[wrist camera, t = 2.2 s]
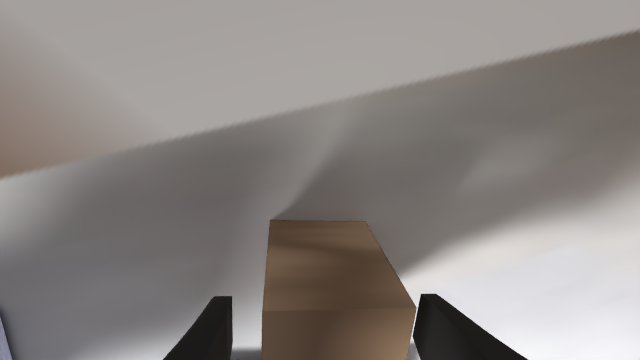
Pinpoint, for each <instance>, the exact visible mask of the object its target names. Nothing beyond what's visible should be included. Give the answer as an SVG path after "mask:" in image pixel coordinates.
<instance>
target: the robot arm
mask: <svg viewBox="0 0 640 360" xmlns="http://www.w3.org/2000/svg"><path fill="white" fill-rule="evenodd" d="M413 339H414V342H415V345H416V348H417V351H418V353H419V356H420V359H421V360H528V359H526V358H525V357H523V356H521V355H520V354H518V353H517V352H515V351H514V350H512V349H511V348H509V347H508V346H506V345H505V344H504V343H502V342H501V341H499V340H498V339H496V338H495V337H494V336H492V335H491V334H489V333H488V332H487V331H485V330H484V329H482V328H481V327H480V326H478V325H477V324H476V323H474V322H473V321H472V320H470V319H469V318H468V317H466V316H465V315H464V314H463V313H461V312H460V311H459V310H457V309H456V308H455V307H453V306H452V305H451V304H449V303H448V302H447V301H445V300H444V299H443V298H441V297H440V296H438V295H437V294H421V297H420V302H419V307H418V312H417V317H416V322H415V327H414V332H413ZM232 342H233V335H232V296H215V297H213V298H212V299H211V301H210V302H209V304H208V305H207V306H206V308H205V309H204V311H203V312H202V313H201V315H200V316H199V317H198V319H197V320H196V321H195V322H194V324H193V325H192V326H191V328H190V329H189V330H188V331H187V332H186V334H185V335H184V336H183V337H182V339H181V340H180V341H179V342H178V343H177V344H176V346H175V347H174V348H173V349H172V350H171V351H170V352H169V353H168V354H167V356H166V357H165V358H164V359H163V360H230V356H231V349H232ZM0 360H12V357H11V354H10V350H9V347H8V343H7V339H6V336H5V332H4V329H3V325H2V322H1V318H0Z"/></svg>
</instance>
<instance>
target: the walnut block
mask: <svg viewBox="0 0 640 360" xmlns="http://www.w3.org/2000/svg"><path fill="white" fill-rule="evenodd" d="M415 313H416V306H415V304H414V303H413V301H412V299H411V298H410V296H409V294H408V293H407V291H406V289H405V288H404V286H403V284H402V282H401V281H400V279H399V277H398V276H397V274H396V272H395V271H394V269H393V267H392V266H391V264H390V262H389V261H388V259H387V257H386V255H385V254H384V252H383V250H382V249H381V247H380V245H379V244H378V242H377V240H376V239H375V237H374V235H373V234H372V232H371V230H370V228H369V227H368V225H367V223H366V222H360V221H298V220H270V228H269V239H268V251H267V263H266V274H265V286H264V297H263V309H262V352H261V360H406V359H407V354H408V349H409V344H410V339H411V334H412V329H413V324H414V319H415Z"/></svg>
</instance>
